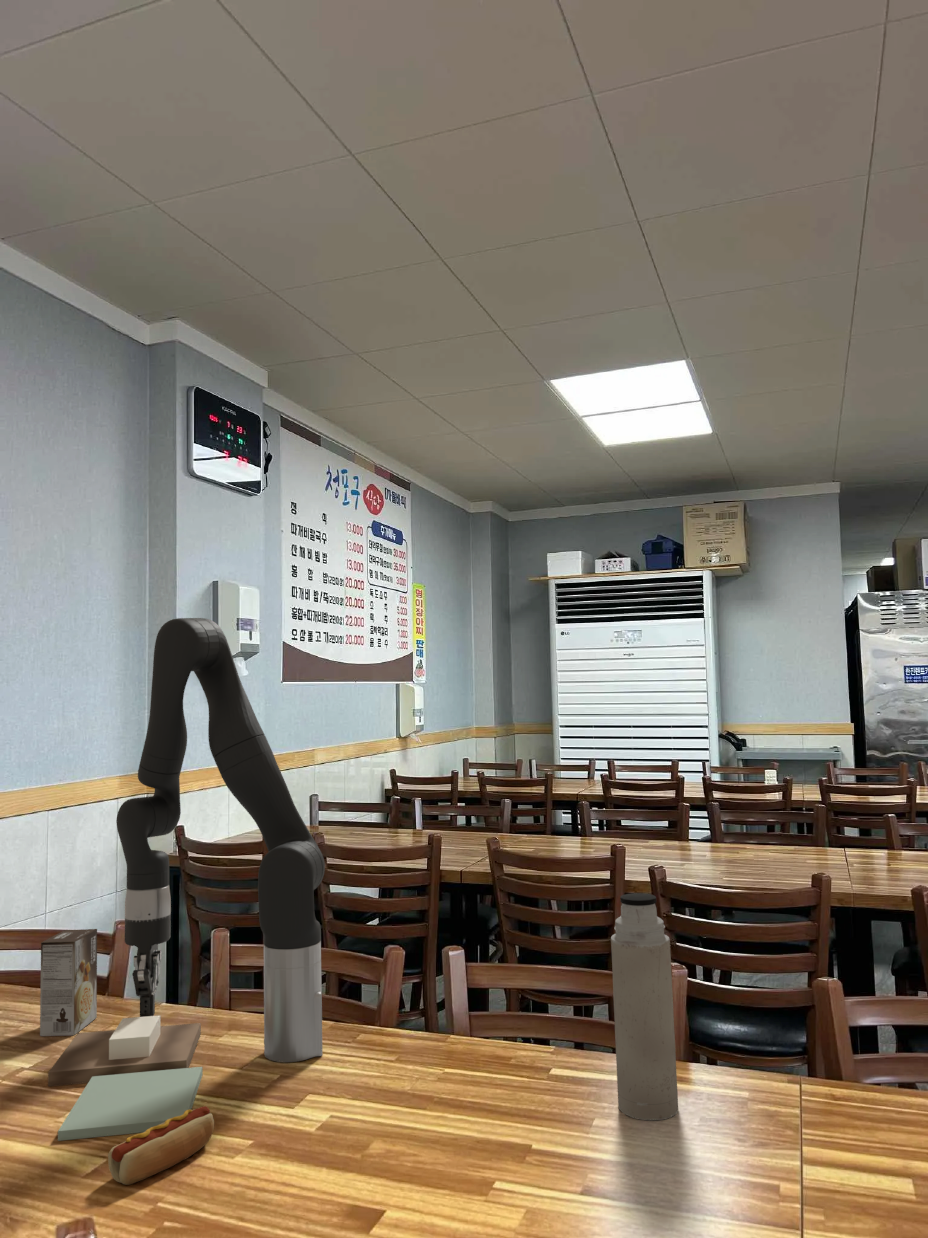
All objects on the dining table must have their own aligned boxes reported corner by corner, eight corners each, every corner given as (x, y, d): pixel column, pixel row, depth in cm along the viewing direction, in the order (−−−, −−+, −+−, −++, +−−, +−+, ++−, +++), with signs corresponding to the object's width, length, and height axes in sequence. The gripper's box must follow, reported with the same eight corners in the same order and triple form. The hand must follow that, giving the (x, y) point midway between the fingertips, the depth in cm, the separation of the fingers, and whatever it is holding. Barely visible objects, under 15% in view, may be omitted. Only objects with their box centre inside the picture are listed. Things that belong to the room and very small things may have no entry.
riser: (200, 1035, 154) (200, 1023, 154) (186, 1074, 137) (186, 1060, 138) (77, 1045, 151) (77, 1033, 151) (47, 1086, 134) (48, 1072, 134)
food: (127, 1197, 103) (128, 1151, 103) (98, 1184, 106) (99, 1140, 106) (223, 1147, 114) (222, 1105, 115) (194, 1136, 117) (194, 1096, 118)
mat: (202, 1075, 137) (202, 1066, 137) (185, 1128, 119) (185, 1118, 119) (92, 1085, 134) (92, 1076, 134) (57, 1141, 117) (58, 1131, 117)
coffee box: (63, 1019, 165) (64, 929, 166) (97, 1018, 164) (98, 928, 166) (38, 1037, 155) (40, 941, 157) (74, 1036, 155) (76, 940, 157)
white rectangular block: (160, 1034, 149) (160, 1015, 150) (149, 1056, 140) (149, 1036, 140) (122, 1037, 148) (122, 1018, 149) (108, 1060, 139) (109, 1040, 139)
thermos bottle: (626, 1091, 127) (617, 888, 129) (683, 1100, 123) (672, 891, 126) (611, 1115, 119) (601, 899, 122) (671, 1125, 116) (660, 903, 119)
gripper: (163, 920, 149) (163, 1029, 148) (176, 904, 162) (176, 1003, 161) (116, 923, 148) (115, 1033, 146) (133, 907, 161) (132, 1007, 159)
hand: (147, 1017), depth 153 cm, fingers closed
